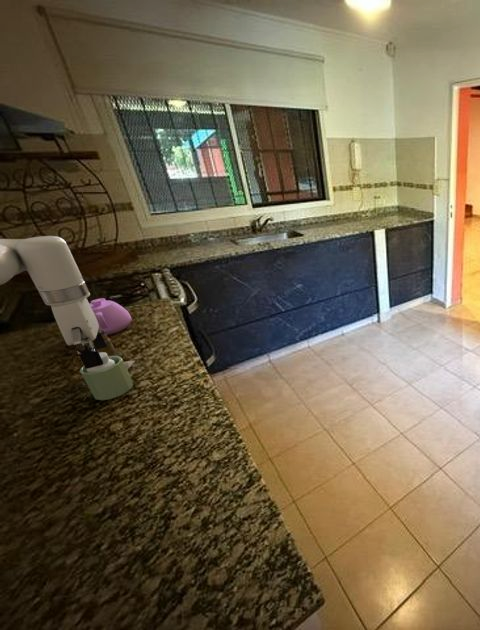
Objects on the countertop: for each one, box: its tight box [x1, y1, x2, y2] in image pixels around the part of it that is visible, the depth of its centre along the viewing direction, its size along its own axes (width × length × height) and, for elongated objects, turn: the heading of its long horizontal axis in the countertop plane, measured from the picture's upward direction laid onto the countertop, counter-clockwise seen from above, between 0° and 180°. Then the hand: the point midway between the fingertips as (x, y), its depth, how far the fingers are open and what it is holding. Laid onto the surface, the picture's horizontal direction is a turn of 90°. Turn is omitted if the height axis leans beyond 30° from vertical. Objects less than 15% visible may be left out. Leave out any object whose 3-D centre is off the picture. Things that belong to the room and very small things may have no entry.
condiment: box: [83, 329, 136, 370], centre depth 94 cm, size 7×8×12 cm
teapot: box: [89, 297, 132, 336], centre depth 117 cm, size 14×20×11 cm
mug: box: [79, 355, 134, 401], centre depth 87 cm, size 8×8×8 cm
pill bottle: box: [87, 352, 116, 373], centre depth 86 cm, size 5×5×10 cm
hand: (97, 356), depth 84 cm, fingers open, 9 cm apart
